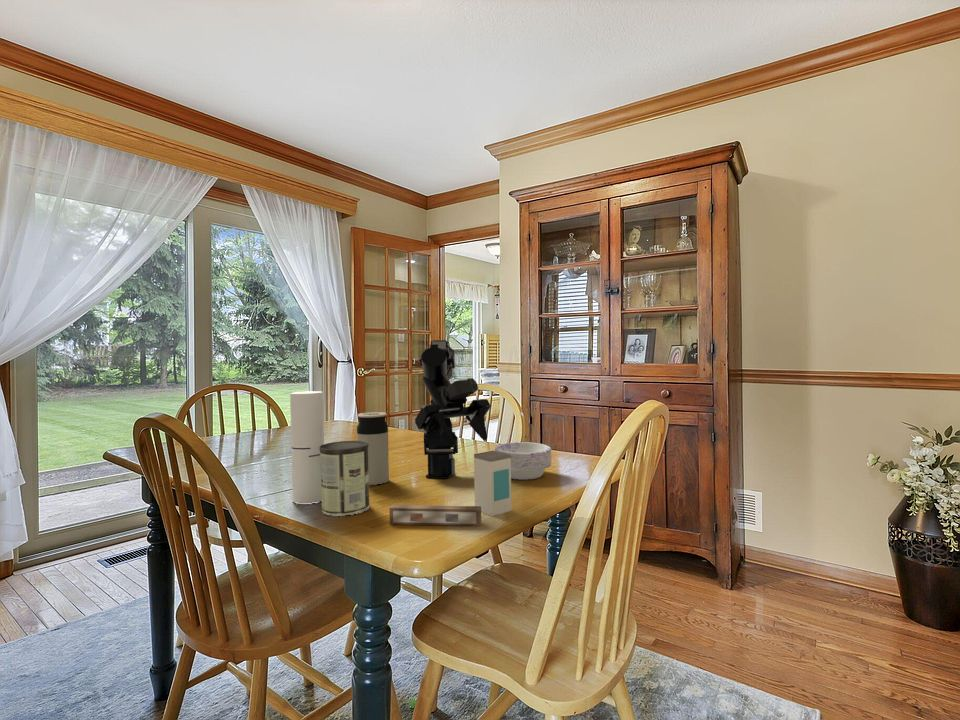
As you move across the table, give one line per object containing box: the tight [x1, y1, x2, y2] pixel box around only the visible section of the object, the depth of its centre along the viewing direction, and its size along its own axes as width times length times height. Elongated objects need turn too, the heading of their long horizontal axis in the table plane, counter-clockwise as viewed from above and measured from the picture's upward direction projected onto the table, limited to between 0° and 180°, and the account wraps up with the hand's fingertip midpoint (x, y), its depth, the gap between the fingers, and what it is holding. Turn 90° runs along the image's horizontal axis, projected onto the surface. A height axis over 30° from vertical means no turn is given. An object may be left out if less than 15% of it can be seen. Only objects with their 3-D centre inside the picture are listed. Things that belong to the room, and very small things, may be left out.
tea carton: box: [473, 450, 512, 517], centre depth 106 cm, size 6×6×12 cm
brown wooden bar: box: [389, 504, 482, 527], centre depth 98 cm, size 18×3×3 cm, turn 84°
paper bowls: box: [494, 441, 552, 481], centre depth 135 cm, size 15×15×8 cm
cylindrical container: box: [289, 390, 325, 503], centre depth 116 cm, size 7×7×25 cm
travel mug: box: [356, 411, 390, 486], centre depth 131 cm, size 8×8×18 cm
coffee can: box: [319, 440, 371, 517], centre depth 109 cm, size 10×10×14 cm
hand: (470, 442), depth 112 cm, fingers open, 9 cm apart
